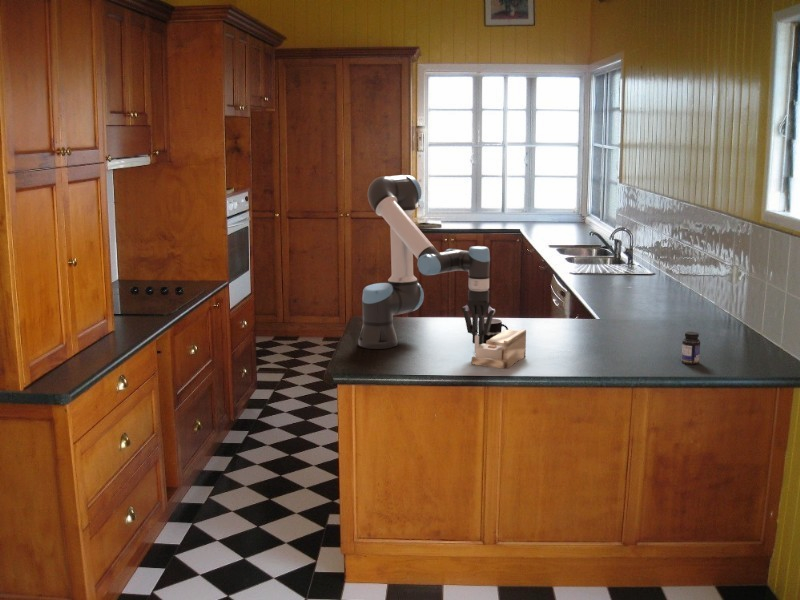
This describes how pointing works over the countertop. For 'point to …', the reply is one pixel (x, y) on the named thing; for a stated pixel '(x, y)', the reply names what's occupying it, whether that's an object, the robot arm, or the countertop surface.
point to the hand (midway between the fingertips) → (477, 352)
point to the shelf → (505, 349)
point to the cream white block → (490, 351)
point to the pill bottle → (691, 348)
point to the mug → (493, 328)
